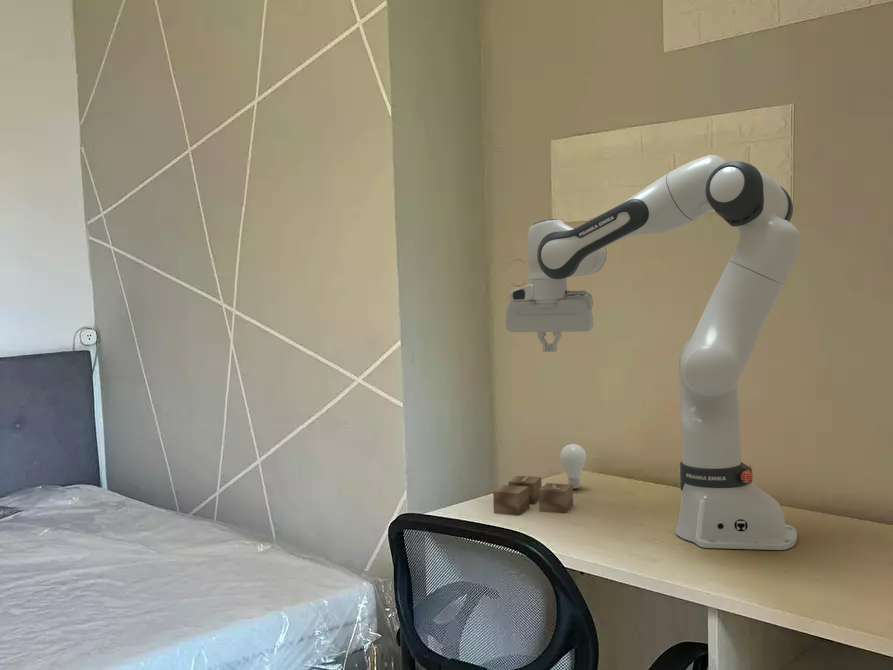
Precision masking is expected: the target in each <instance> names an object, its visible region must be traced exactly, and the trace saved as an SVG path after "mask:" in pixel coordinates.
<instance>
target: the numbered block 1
mask: <svg viewBox="0 0 893 670" xmlns="http://www.w3.org/2000/svg"><path fill="white" fill-rule="evenodd" d="M508 485H512V486H525V487H529V504H530V505H535V504H536V503H537V501H538V502H539V489H540V488H542V487H543V486H542V476H533V475H532V476H531V475H530V476H529V475H515V476H514V477H513V478H512V479H510V480H509V481H508Z"/></svg>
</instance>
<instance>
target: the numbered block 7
mask: <svg viewBox="0 0 893 670" xmlns="http://www.w3.org/2000/svg"><path fill="white" fill-rule="evenodd" d="M573 491H574V490H573V486H572V484H569V483H568V484H567V483H553V482H552V483H549V482H546V483H545V484H544V485H543V486H542V488H540V489H539V501H538V502H539V504H538V505H539V512H540V513H554V514H558V513H559V514H567V513H568V512H569V511H570V510H571V509H572V508H573V507H574V495H573V493H574V492H573ZM572 506H573V507H572ZM571 507H572V508H571ZM570 508H571V509H570Z"/></svg>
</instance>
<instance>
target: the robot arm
mask: <svg viewBox="0 0 893 670" xmlns="http://www.w3.org/2000/svg"><path fill="white" fill-rule="evenodd" d="M712 211H714V212H715V213H716V214H717V215H718V216H719V217H720V218H722V219H723V220H724V221H725V222H726V223H727V224H728V225H730V227H734V228H735V227H736V228H737V231H738V241H737V245H736V246H735V249H734V251H733V253H732V254H731V256H730V259H729V260H728V262H727V264H726V266H725V268H724V270H723V272H722V273H721V276H720V277H719V279H718V281H717V283H716V285H715V288H714V289H713V291H712V293H711V295H710V297H709V299H708V301H707V304H706V306H705V308H704V310H703V313H702V315H701V317H700V319H699V321H698V323H697V324H696V325H697V326H696V328H695V330H694V332H693V334H692V336H691V337H690V338H689V339H688V340H687V341H686V342H685V343H684V345H682V348H681V349H680V352H679V357H678V369H679V370H678V372H679V374H678V375H679V377H678V379H679V400H680V401H679V402H680V404H679V405H680V434H681V437H680V439H681V440H680V441H681V462H680V463H679V469H678V470H679V471H678V473H679V487H680V491H681V497H680V499H681V500H680V508H679V515H678V520H677V524H676V528H675V530H674V532H675V534H676V535H677V536H678V537H680V538H681V539H683V540H687V541H689V542H691V543H694V544H696V545H697V546H699V547H701V548H704V549H705V548H706V549H728V550H729V549H731V550H732V549H733V550H734V549H735V550H736V549H737V550H762V551H763V550H768V551H769V550H770V551H784V550H788V549H791V548H793V547H794V546H795V545H796V543H797V542H798V533H797V530H796V528H795V527H794V526H792V525H790V524H789V523H788V524H786V523H785V516H784V513H783V510H782V507H781V505H780V503H779V501H777V499H775V498H774V497H772V496H771V495H769V494H768V493H767V492H765V491H764V490H762V489H761V488H760V487H758V485H756V484H755V483H753V477H754V476H753V475H754V474H753V467H752V465H751V464H749V466H748V464H746V463H744V462H742V458H741V456H742V455H741V454H742V453H741V451H742V450H741V449H742V448H741V447H742V446H741V419H740V408H739V407H740V405H739V391H738V382H739V380H740V378H741V375H742V374H743V371H744V370H745V368H746V367H747V366H746V365H747V364H748V361H749V359H750V356H751V354H752V353H753V350H754V348H755V346H756V344H757V341H758V339H759V336H760V334H761V332H762V329H763V327H764V326H765V323H766V321H767V320H768V317H769V315H770V313H771V311H772V310H773V307H774V306H775V303H776V301H777V300H778V298H779V297H780V294H782V293H781V292H782V291H783V289H784V286H785V285H786V282H787V280H788V278H789V277H790V274H791V272H792V270H793V267H794V265H795V262H796V259H797V257H798V254H799V250H800V246H801V242H802V236H801V233H800V232H799V230H798V228H797V227H796V226H795V225H794V224H793V223H791V220H792V217H793V214H794V204H793V200H792V198H791V196H790V195H789V193H788V191H786V189H785V188H784V187H782V186H781V185H779V184H778V183H777V182H776V180H774V178H772V176H770V175H769V174H767V173H766V172H764V171H763V170H761V169H759V168H757V167H756V166H755V165H752V164H750V163H747V162H744V161H740V160H739V161H737V160H736V161H735V160H734V161H726V160H725V159H724V158H723V157H721V156H719V155H716V154H708V155H705V156H701V157H699V158H697V159H694V160H691V161H689V162H686V163H685V164H683V165H680V166H678V167H677V168H675V169H673V170H671V171H669V172H667V173H666V174H664V175H662V176H661V177H660V178H658V179H656V180H655V181H653V182H652V183H650V184H648V185H647V186H645V188H643V189H641V190H640V191H639V192H636V193H635V194H634V195H633V196H631V197H629V198H627V199H626V200H624V201H623V202H621V203H620V204H619V205H616V206H615V207H613V208H611V209H609V210H607V211H605V212H603V213H601V214H599V215H598V216H596V217H594V218H592V219H590V220H589V221H586V222H584V223H583V224H581V225H579V226H577V227H575V228H573V227H572V226H570V225H568V224H566V223H565V222H563V221H562V220H561V219H558V218H552V219H551V218H549V219H545V220H539V221H536V222H534V223H533V224H532V225H530V227H529V229H528V232H527V239H526V259H527V260H526V261H527V263H528V268H529V269H528V270H529V271H528V275H527V276H528V277H527V285H524V286H521V287H519V288H517V289H514V290H511V291H509V292H508V299H509V301H510V302H508V304H507V306H506V311H505V328H506V330H507V332H508V333H536V334H537V338H538V341H539V342H540V343H541V344H542V352H545V353H549V352H550V353H551V352H552V353H556V352H558V344H559V341H560V339H561V338H562V333H565V332H566V333H567V332H570V333H571V332H573V333H574V332H577V333H580V332H582V333H583V332H585V333H586V332H590V331H591V330H592V329H593V328H594V317H593V310H592V308H593V304H594V303H593V296H592V294H591V293H590V292H588V291H586V290H581V289H580V290H568V279H567V278H571V277H572V278H574V277H583V276H589V275H593V274H595V273H597V272H599V271H600V270H601V269H602V268H603V267H604V265H605V262H606V260H607V248H606V247H608V246H609V245H612V244H615V242H617V241H619V240H622V239H625V238H628V237H633V236H637V235H650V234H661V233H666V232H669V231H672V230H675V229H679V228H681V227H684V226H686V225H687V224H690V223H691V222H693V221H695V220H698V218H700V217H702V216H704V215H706V214H708V213H710V212H712ZM547 333H552V336H553V337H554V339H553V341H552V343H548V341H547V339H546V338H545V337H546V336H547Z"/></svg>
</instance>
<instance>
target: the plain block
mask: <svg viewBox="0 0 893 670" xmlns="http://www.w3.org/2000/svg"><path fill="white" fill-rule="evenodd" d="M492 494H493V495H492V496H493V497H492V498H493V513H494V514H499V515H500V514H501V515H509V516H510V515H511V516H512V515H513V516H520V515H523V513H525V512H526V511H528V510H529V509H530V508H531V507H530V506H531V504H529V487H525V486H512V485H509V484H504V485H501V486H500V487H498V488H496V489H495V490H493V491H492Z"/></svg>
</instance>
